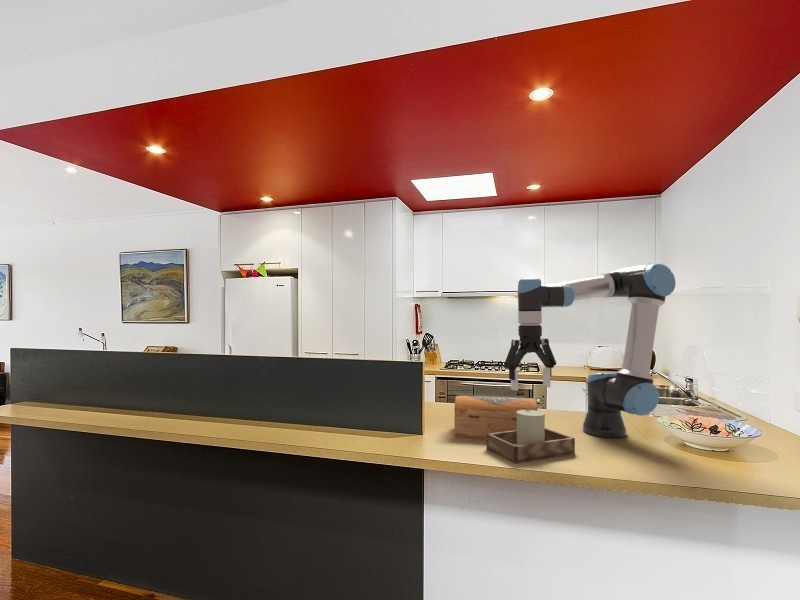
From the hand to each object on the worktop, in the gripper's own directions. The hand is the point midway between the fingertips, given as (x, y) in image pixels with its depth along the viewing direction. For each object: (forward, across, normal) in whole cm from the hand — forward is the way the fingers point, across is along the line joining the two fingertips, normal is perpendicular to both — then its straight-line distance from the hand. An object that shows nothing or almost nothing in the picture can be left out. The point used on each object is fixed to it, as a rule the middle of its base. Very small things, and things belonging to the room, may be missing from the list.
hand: (530, 388), depth 142 cm
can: (+20, 0, 0) cm, 20 cm away
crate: (+21, +1, 0) cm, 21 cm away
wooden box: (+21, -1, -22) cm, 31 cm away
